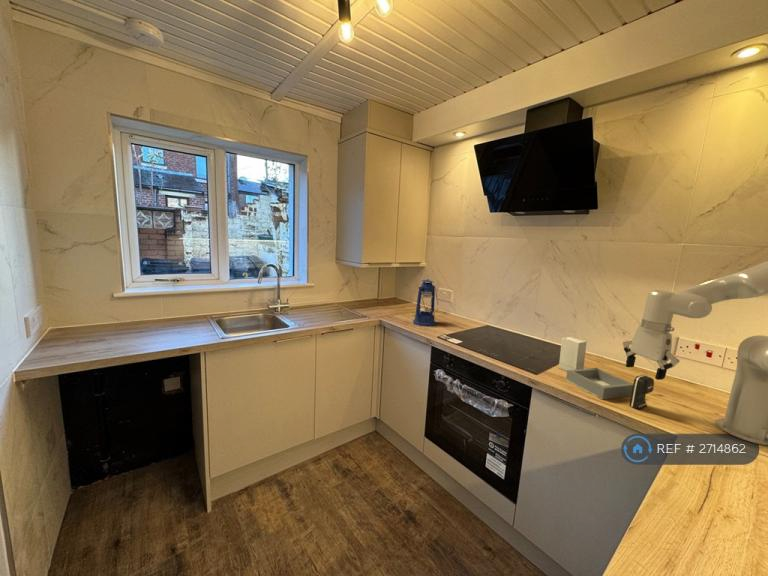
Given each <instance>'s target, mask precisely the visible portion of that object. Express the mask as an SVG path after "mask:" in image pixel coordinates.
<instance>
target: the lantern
mask: <svg viewBox="0 0 768 576" xmlns="http://www.w3.org/2000/svg"><path fill="white" fill-rule="evenodd" d="M421 282H422V283H421V286H418V294H417V299H416V306H415V307H416V309H415V314H414V319H413V320H412V323H413V324H414V325H415V326H419V327H434V326H436V321H435V318H436V317H435V315H436V314H435V313H436V312H438V311H439V309H436V311H435V300H436V299H438V296H437V294H436V293H437V289H436V286H435V285H434V284H433V283H434V281H433V280H430V279H423V280H421ZM435 297H436V298H435ZM425 298H427V299H431V300H430V306H428V307H425V306H426V305H425V304H426V303H424V299H425ZM421 301H422V303H423V304H421ZM436 303H437V304H439V301H438V300H436ZM422 305H423V307H421V306H422Z"/></svg>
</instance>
